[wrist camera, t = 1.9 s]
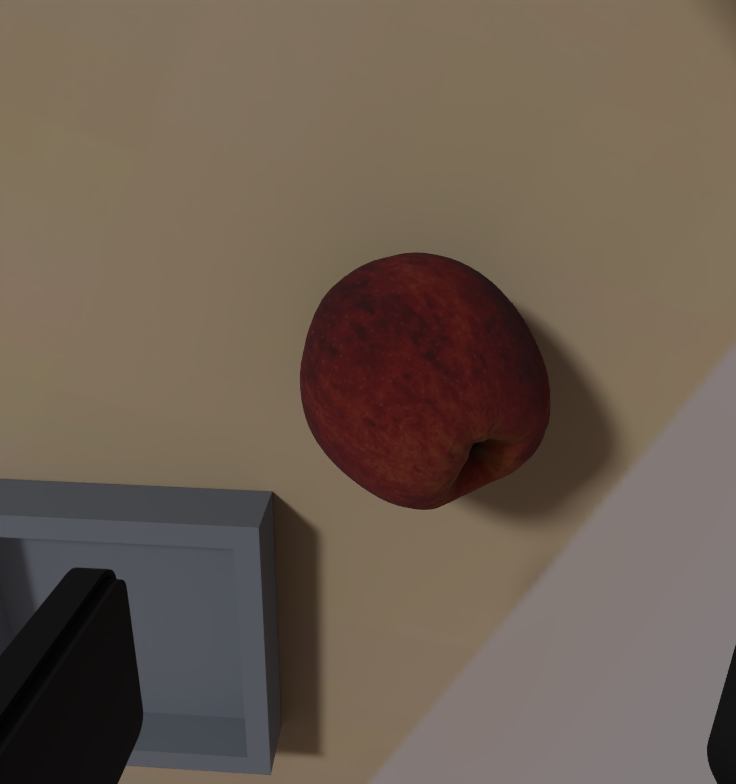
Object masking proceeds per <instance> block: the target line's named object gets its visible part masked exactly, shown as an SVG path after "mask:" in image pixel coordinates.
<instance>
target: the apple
mask: <svg viewBox="0 0 736 784" xmlns="http://www.w3.org/2000/svg"><path fill="white" fill-rule="evenodd" d="M300 390H301V399H302V405H303V409H304V413H305V417H306V420H307V423H308V426H309V428H310V430H311V432H312V434H313V436H314V438H315V439H316V441H317V443H318V444H319V445H320V447H321V448H322V450H323V451H324V452H325V454H326V455H327V456H328V457H329V458H330V459H331V461H332V462H333V463H334V464H335V465H336V466H337V467H338V468H339V469H340V470H341V471H342V472H344V473H345V474H346V475H347V476H348V477H350V478H351V479H352V480H353V481H355V482H356V483H357V484H359V485H360V486H361V487H363V488H364V489H366V490H367V491H369V492H370V493H372V494H374V495H376V496H377V497H379V498H381V499H383V500H385V501H387V502H389V503H392V504H395V505H398V506H402V507H407V508H412V509H421V510H428V509H435V508H438V507H441V506H443V505H445V504H447V503H449V502H451V501H453V500H455V499H457V498H459V497H461V496H464V495H466V494H468V493H470V492H472V491H474V490H476V489H478V488H480V487H482V486H484V485H486V484H488V483H490V482H493V481H495V480H498V479H500V478H503V477H505V476H507V475H509V474H511V473H512V472H513V471H515V470H516V469H517V468H519V467H520V466H521V465H522V464H523V463H525V462H526V461H527V460H528V459H529V458H530V457H531V456H532V455H533V454H534V452H535V451H536V449H537V448H538V447H539V445H540V443H541V441H542V439H543V436H544V433H545V430H546V428H547V425H548V423H549V416H550V387H549V380H548V375H547V371H546V367H545V364H544V361H543V358H542V356H541V353H540V351H539V348H538V346H537V344H536V342H535V339H534V337H533V335H532V333H531V332H530V330H529V328H528V326H527V325H526V323H525V321H524V320H523V318H522V317H521V315H520V314H519V312H518V311H517V309H516V308H515V306H514V305H513V304H512V303H511V302H510V301H509V299H508V298H507V297H506V296H505V295H504V294H503V292H502V291H501V290H500V289H499V288H498V287H497V286H496V285H494V284H493V283H492V282H491V281H490V280H489V279H487V278H486V277H485V276H483V275H482V274H481V273H479V272H478V271H476V270H474V269H473V268H471V267H469V266H467V265H465V264H463V263H461V262H459V261H456V260H453V259H451V258H447V257H444V256H439V255H434V254H428V253H404V254H399V255H395V256H390V257H386V258H382V259H378V260H374V261H371V262H369V263H367V264H365V265H363V266H361V267H359V268H357V269H355V270H354V271H352V272H351V273H350V274H348V275H347V276H345V277H344V278H343V279H342V280H340V281H339V282H338V283H337V284H336V285H334V286H333V287H332V288H331V289H330V290H329V291H328V293H327V294H326V295H325V297H324V298H323V299H322V301H321V303H320V305H319V307H318V308H317V310H316V312H315V315H314V317H313V320H312V322H311V325H310V328H309V331H308V334H307V338H306V342H305V347H304V351H303V356H302V361H301V370H300Z"/></svg>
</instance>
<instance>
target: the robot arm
mask: <svg viewBox="0 0 736 784" xmlns="http://www.w3.org/2000/svg"><path fill="white" fill-rule="evenodd" d="M142 722H143V705H142V697H141V690H140V682H139V675H138V667H137V660H136V652H135V645H134V637H133V630H132V622H131V615H130V607H129V600H128V592H127V586H126V583H125V581H124V580H122V579H116V575H115V573H114V571H113V570H111V569H99V568H79V567H75V568H72V569H71V570H70V571H68V572H67V573H66V575H65V576H64V577H63V578H62V580H61V581H60V582H59V583H58V585H57V586H56V587H55V588H54V590H53V591H52V592H51V593H50V595H49V596H48V597H47V598H46V599H45V601H44V602H43V603H42V604H41V606H40V607H39V608H38V609H37V611H36V612H35V613H34V614H33V616H32V617H31V618H30V619H29V621H28V622H27V623H26V624H25V625H24V627H23V628H22V629H21V630H20V632H19V633H18V634H17V635H16V637H15V638H14V639H13V640H12V642H11V643H10V644H9V645H8V647H7V648H6V649H5V650H4V652H3V653H2V654H1V655H0V784H118V782H119V780H120V777H121V775H122V773H123V771H124V768H125V766H126V764H127V762H128V760H129V757H130V755H131V753H132V751H133V749H134V746H135V744H136V742H137V740H138V737H139V735H140V731H141V728H142ZM707 755H708V762H709V766H710V769H711V771H712V773H713V775H714V778H715V779H716V781H717V784H736V646H735V649H734V653H733V656H732V660H731V664H730V667H729V670H728V674H727V678H726V681H725V684H724V688H723V691H722V695H721V699H720V702H719V705H718V709H717V713H716V716H715V720H714V723H713V726H712V730H711V733H710V737H709V741H708V745H707Z"/></svg>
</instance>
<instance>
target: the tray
mask: <svg viewBox="0 0 736 784" xmlns="http://www.w3.org/2000/svg"><path fill="white" fill-rule="evenodd" d="M75 567H79V568H99V569H111V570H113V571H114V573H115V575H116V579H122V580H124V581H125V583H126V586H127V592H128V600H129V607H130V615H131V622H132V630H133V637H134V645H135V652H136V660H137V667H138V675H139V682H140V690H141V697H142V705H143V722H142V728H141V731H140V735H139V737H138V740H137V742H136V744H135V746H134V749H133V751H132V753H131V755H130V757H129V760H128V762H127V764H126V766H140V767H155V768H171V769H186V770H201V771H217V772H232V773H248V774H263V775H271V772H272V767H273V762H274V757H275V752H276V748H277V743H278V738H279V733H280V729H281V705H280V680H279V654H278V628H277V602H276V576H275V551H274V525H273V499H272V492H268V491H247V490H225V489H204V488H182V487H161V486H139V485H118V484H96V483H75V482H54V481H32V480H11V479H0V655H1V654H2V653H3V652H4V650H5V649H6V648H7V647H8V645H9V644H10V643H11V642H12V640H13V639H14V638H15V637H16V635H17V634H18V633H19V632H20V630H21V629H22V628H23V627H24V625H25V624H26V623H27V622H28V621H29V619H30V618H31V617H32V616H33V614H34V613H35V612H36V611H37V609H38V608H39V607H40V606H41V604H42V603H43V602H44V601H45V599H46V598H47V597H48V596H49V595H50V593H51V592H52V591H53V590H54V588H55V587H56V586H57V585H58V583H59V582H60V581H61V580H62V578H63V577H64V576H65V575H66V573H67V572H68V571H70V570H71V569H72V568H75Z"/></svg>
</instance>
